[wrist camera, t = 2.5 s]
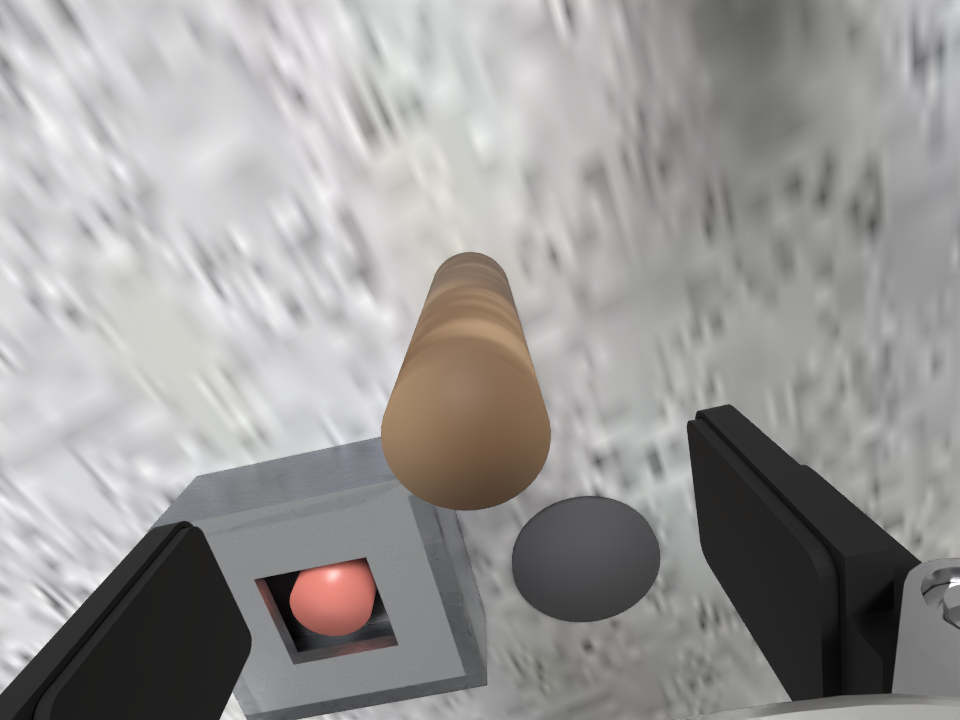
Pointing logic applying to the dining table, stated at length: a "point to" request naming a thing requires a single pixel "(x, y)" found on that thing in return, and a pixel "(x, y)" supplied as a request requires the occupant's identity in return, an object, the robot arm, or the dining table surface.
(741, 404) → the dining table surface
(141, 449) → the dining table surface
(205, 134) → the dining table surface
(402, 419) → the tan wooden rod
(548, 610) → the coaster
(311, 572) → the pink rounded dome
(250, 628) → the grey square holed block
